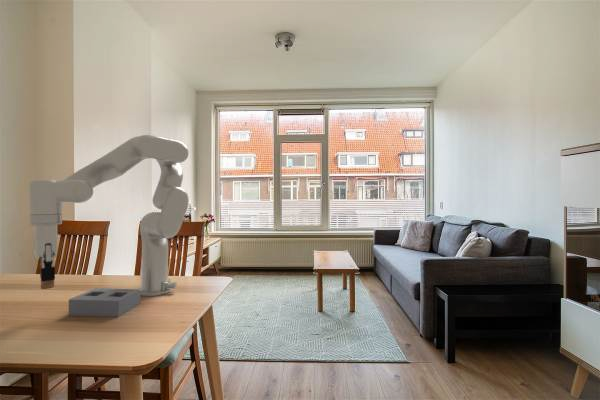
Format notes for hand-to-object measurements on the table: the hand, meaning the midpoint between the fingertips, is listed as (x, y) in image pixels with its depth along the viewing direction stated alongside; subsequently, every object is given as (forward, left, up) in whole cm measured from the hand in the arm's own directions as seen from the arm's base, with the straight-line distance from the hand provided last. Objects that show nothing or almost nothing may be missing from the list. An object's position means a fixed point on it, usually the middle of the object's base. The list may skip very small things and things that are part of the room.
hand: (47, 278), depth 94 cm
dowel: (0, 0, -3) cm, 3 cm away
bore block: (-14, -7, -12) cm, 20 cm away
